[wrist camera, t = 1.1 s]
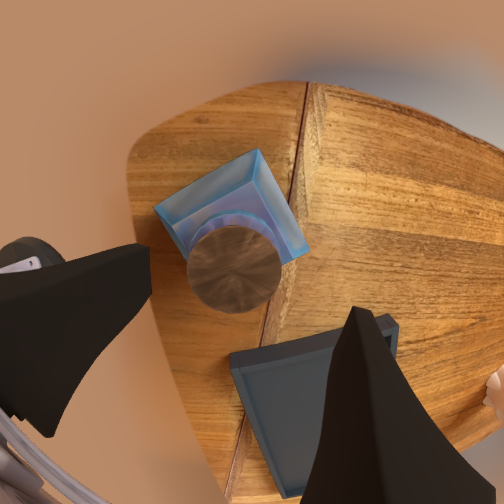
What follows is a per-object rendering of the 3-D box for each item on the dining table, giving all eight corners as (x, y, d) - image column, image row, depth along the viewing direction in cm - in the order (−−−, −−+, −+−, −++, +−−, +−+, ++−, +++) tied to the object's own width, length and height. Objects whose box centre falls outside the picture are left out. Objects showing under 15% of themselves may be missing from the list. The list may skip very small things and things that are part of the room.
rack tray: (281, 489, 37) (282, 499, 35) (229, 353, 25) (229, 369, 23) (365, 467, 37) (368, 476, 34) (388, 313, 25) (399, 325, 23)
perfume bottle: (217, 262, 22) (205, 368, 11) (175, 192, 20) (109, 238, 9) (289, 224, 21) (349, 300, 10) (250, 150, 19) (275, 141, 8)
